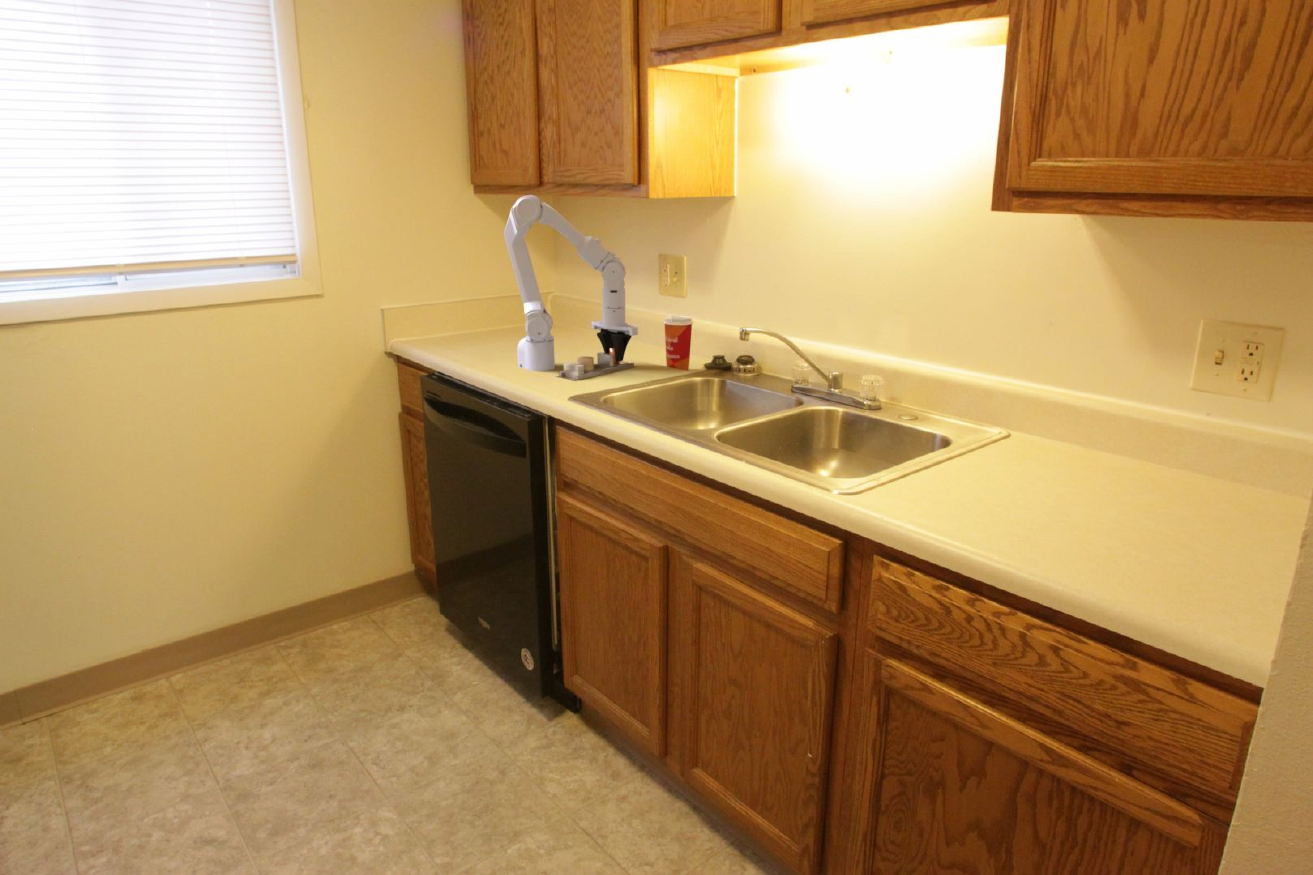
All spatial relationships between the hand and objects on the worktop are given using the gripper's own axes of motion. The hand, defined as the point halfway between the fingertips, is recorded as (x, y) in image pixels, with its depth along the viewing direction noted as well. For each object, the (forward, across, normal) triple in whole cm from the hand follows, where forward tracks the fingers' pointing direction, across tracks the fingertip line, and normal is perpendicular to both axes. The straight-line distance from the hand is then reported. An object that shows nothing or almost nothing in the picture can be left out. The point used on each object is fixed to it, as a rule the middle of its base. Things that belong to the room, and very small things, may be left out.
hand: (614, 360), depth 225 cm
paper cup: (+4, -10, -13) cm, 17 cm away
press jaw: (+2, 0, +1) cm, 2 cm away
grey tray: (+3, 0, +6) cm, 7 cm away
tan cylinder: (+2, 0, +10) cm, 10 cm away
